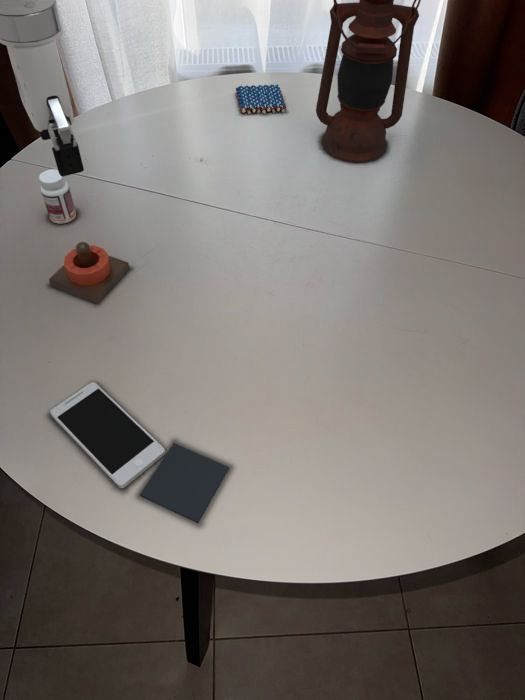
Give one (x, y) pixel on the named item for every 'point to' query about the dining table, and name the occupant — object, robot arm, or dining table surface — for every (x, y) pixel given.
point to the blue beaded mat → (260, 98)
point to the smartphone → (108, 434)
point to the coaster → (185, 482)
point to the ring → (87, 274)
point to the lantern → (364, 77)
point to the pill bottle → (57, 197)
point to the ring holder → (90, 291)
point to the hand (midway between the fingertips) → (62, 154)
